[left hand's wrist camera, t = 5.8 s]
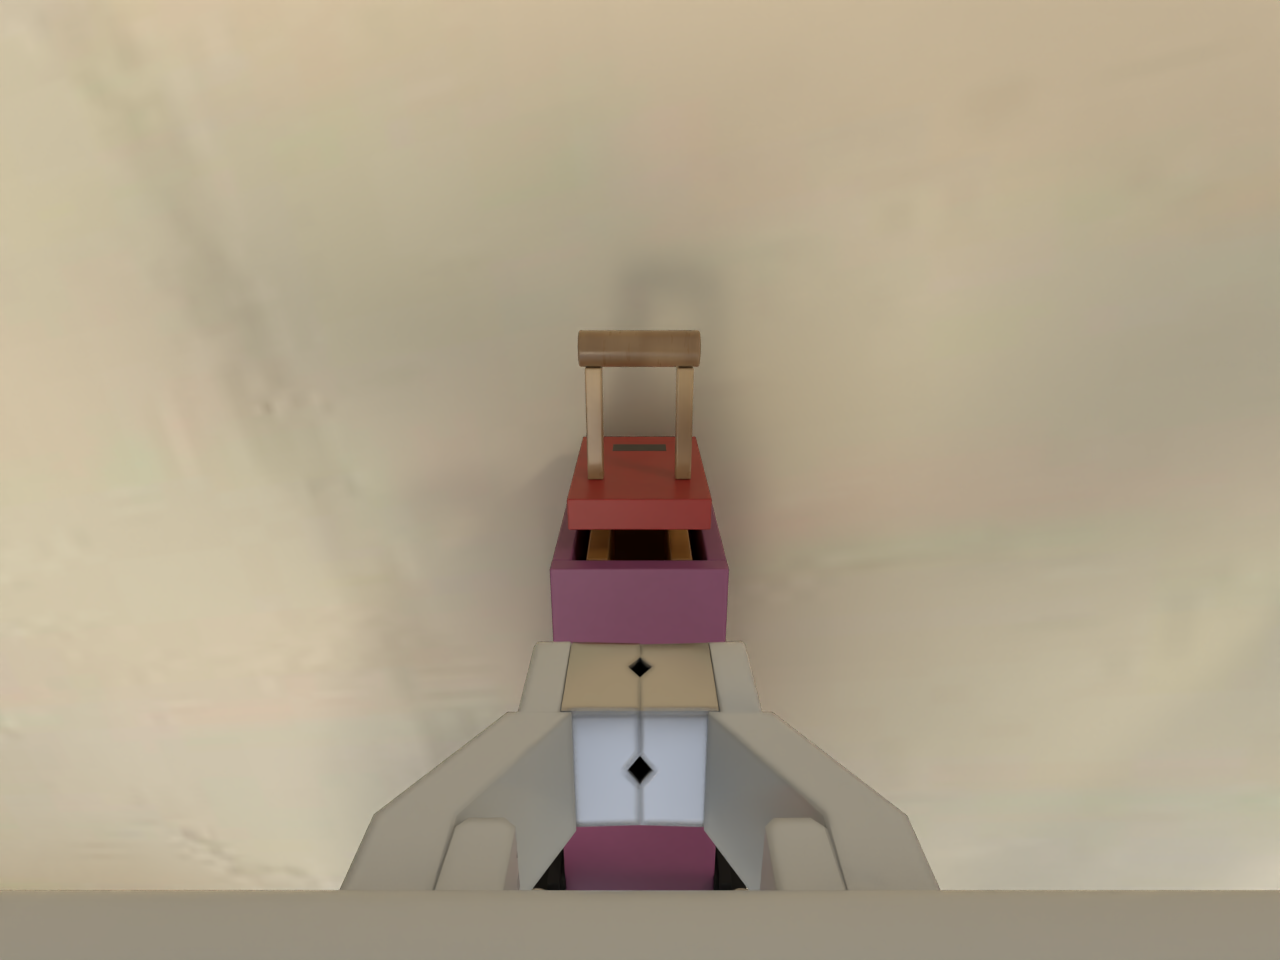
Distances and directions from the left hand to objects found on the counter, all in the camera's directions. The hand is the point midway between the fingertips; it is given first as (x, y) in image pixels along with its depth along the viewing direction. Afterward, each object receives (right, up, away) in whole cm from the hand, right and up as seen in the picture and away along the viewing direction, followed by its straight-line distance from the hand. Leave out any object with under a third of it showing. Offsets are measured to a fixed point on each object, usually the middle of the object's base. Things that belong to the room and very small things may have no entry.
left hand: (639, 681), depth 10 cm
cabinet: (0, -6, +27) cm, 27 cm away
